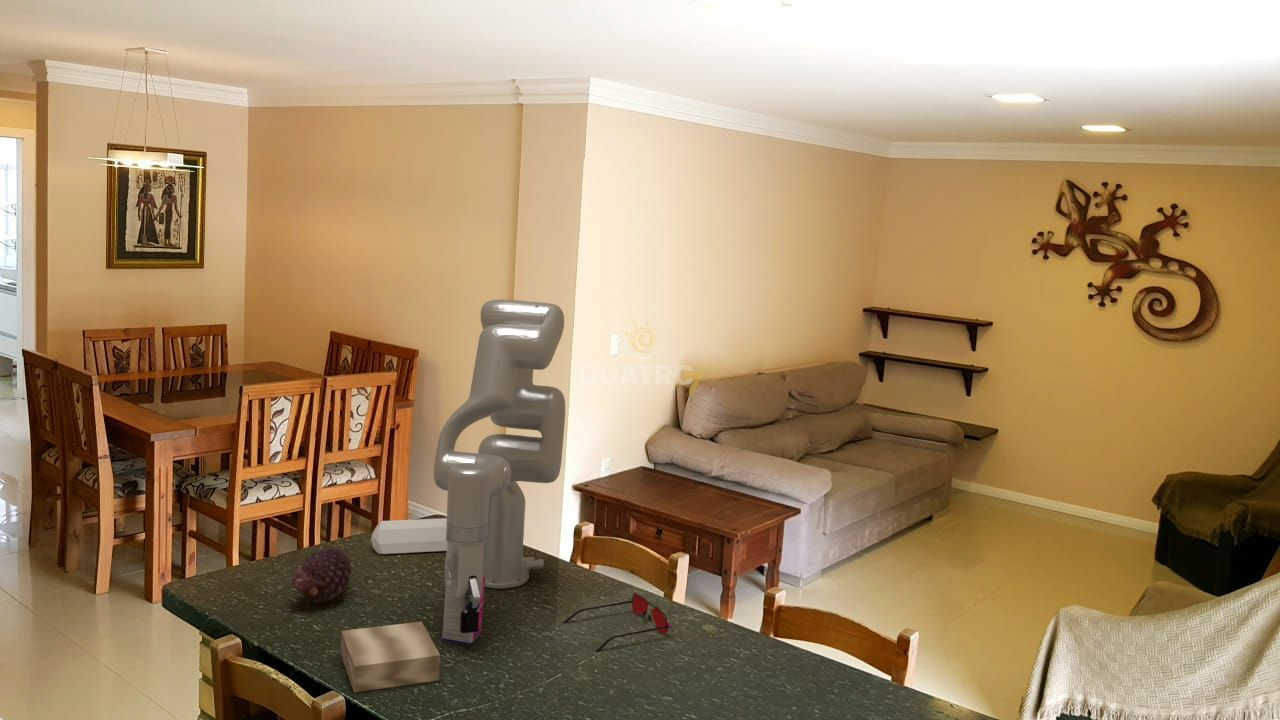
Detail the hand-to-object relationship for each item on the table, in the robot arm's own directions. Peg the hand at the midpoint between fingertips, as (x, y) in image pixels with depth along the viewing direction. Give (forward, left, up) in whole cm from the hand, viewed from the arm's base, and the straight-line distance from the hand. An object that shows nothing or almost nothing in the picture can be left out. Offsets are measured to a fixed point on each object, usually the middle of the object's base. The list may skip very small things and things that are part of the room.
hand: (462, 621), depth 184 cm
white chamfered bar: (-4, -48, -4) cm, 48 cm away
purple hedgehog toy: (+21, -25, -3) cm, 33 cm away
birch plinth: (+15, +8, -3) cm, 17 cm away
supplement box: (0, 0, -3) cm, 3 cm away
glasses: (-29, +5, -4) cm, 30 cm away
